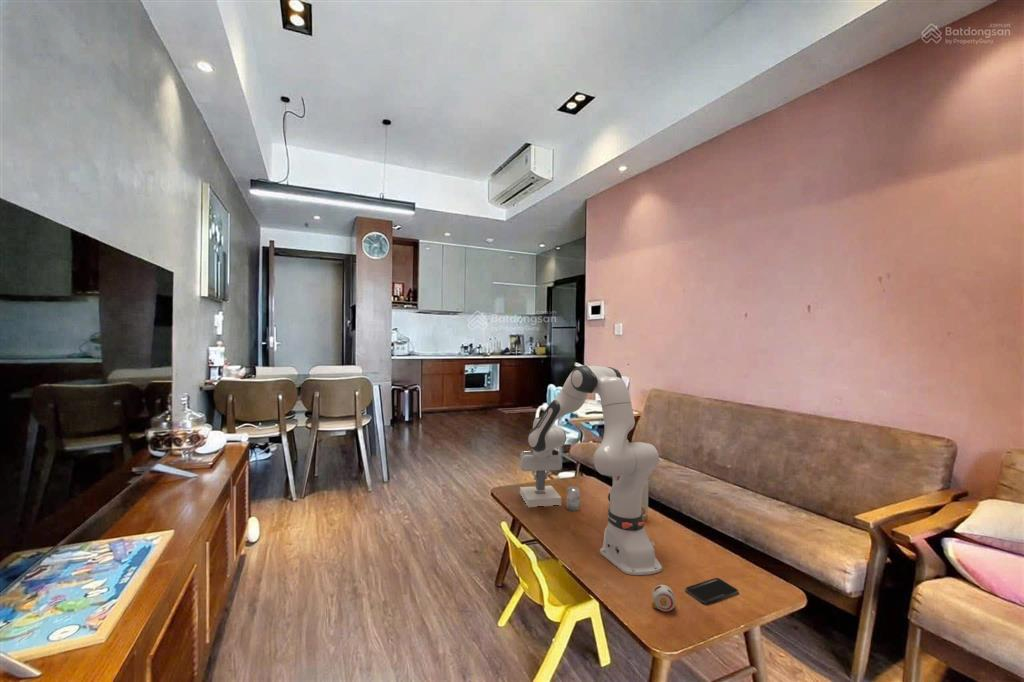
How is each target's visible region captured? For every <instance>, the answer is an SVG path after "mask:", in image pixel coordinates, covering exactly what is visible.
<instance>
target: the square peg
mask: <svg viewBox="0 0 1024 682" xmlns="http://www.w3.org/2000/svg"><path fill="white" fill-rule="evenodd" d="M545 474H546V470H544V471H535V475H537V476H538V478H537V480H535V486H536V489H537V490H545V486H546V480H545Z"/></svg>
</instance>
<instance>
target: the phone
mask: <svg viewBox="0 0 1024 682" xmlns="http://www.w3.org/2000/svg"><path fill="white" fill-rule="evenodd" d="M684 589H685V593H686V594H688V595H689V596H690V597H692V598H693V599H695V600H696V601H697V602H699V603H701V604H702V605H704V606H709V605H712V604H715V603H717V602H720V601H723V600H726V599H730V598H732V597H734V596H737V595H739V590H738V589H737V588H736V587H734V586H732V584H729V583H728V582H726V581H724V580H723V579H721V578H720V577H719V578H718V577H714V578H712V579H708V580H705V581H702V582H699V583H696V584H692V585H689V586H687V587H685V588H684Z"/></svg>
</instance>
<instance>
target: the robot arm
mask: <svg viewBox="0 0 1024 682" xmlns="http://www.w3.org/2000/svg"><path fill="white" fill-rule="evenodd" d="M592 393H593V394H597V395H598V396H599V399H600V404H601V410H602V411H601V412H602V417H603V425H604V426H603V427H604V429H603V430H604V431H603V438H602V440H601V443H600V444H599V446H598V447H597V448H596V450H594V454H593V458H592V459H593V466H594V468H595V470H596V471H597V472H598V473H599V474H600V475H602V476H608V477H613V476H620V478H619V480H618V481H617V482H616V483H615V484H614V485H613V484H612V486H611V488H610V490H609V493H610V502H609V508H608V512H607V521H608V522H607V525H606V527H605V528H604V531H603V532H604V533H603V543H602V547H600V549H599V554H600V555H602V556H603V557H604V558H606V559H607V560H608V561H609V562H610V563H612V564H613V565H614V566H615V567H616V566H617V567H616V568H618V569H619V570H620V571H621V572H623V573H624V574H626V575H632V576H648V575H649V576H650V575H653V574H657V573H658V574H659V573H660V572H661V571H663V566H662V564H661V563H660V562H659V560H658V559H657V557H656V555H655V548H656V545H655V542H654V541H653V540H651V539H650V538H649V533H648V532H646V529H645V522H643V521H644V520H643V516H642V513H641V505H642V493H643V489H644V486H645V483H646V481H647V479H648V480H649V477H650V475H651V473H652V472H653V471H654V470H656V468H658V465H659V463H660V455H659V452H658V449H657V448H656V447H655V446H654V445H653V444H651V443H649V442H642V441H637V442H636V441H635V442H628V434H629V433H630V431H632V430H633V429H634V427H635V424H636V420H635V415H634V410H633V405H632V401H631V396H630V393H629V389H628V387H627V385H626V383H625V380H624V379H623V378H622V374H621V372H620V371H619V370H618V369H616V368H614V367H610V366H609V367H608V366H607V367H606V366H599V365H579V366H576V367H575V368H573V370H572V371H571V372H570V373H569V375H568V377H567V378H566V380H565V382H564V384H563V386H562V388H561V389H560V391H559V393H558V395H557V396H555V398H554V399H553V400H552V401H551V402H550V403H549V404H548V406H547V407H546V408H545V410H544V412H543V414H542V415H541V416H538V417H535V418H534V420H533V423H532V428H531V430H530V432H529V433H528V436H527V443H528V445H529V447H530V448H531V450H523V451H521V452H520V453H519V460H520V461H519V469H520V471H522V472H531V473H532V475H533V480H534V481H536V480H537V478H538V476H537V475H536V471H544V470H545V481H546V480H548V476H549V474H550V472H551V471H560V470H562V468H563V460H562V456H561V451H560V450H559V448H562V447H563V446H564V445H565V444H566V440H567V434H566V432H565V430H564V429H563V428H562V427H561V426H558V424H557V425H556V424H555V423H556V421H557V420H558V419H560V418H562V417H563V416H566V415H568V414H571V413H574V412H577V411H578V410H580V408H582V406H583V405H584V403H585V402H586V401H587V398H588V395H589V394H592Z"/></svg>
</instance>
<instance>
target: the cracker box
mask: <svg viewBox="0 0 1024 682" xmlns="http://www.w3.org/2000/svg"><path fill="white" fill-rule="evenodd" d="M619 478H620V476H612V486H613V485H614V484H615V483H616V482H617V481H618V480H619ZM641 513H642V516H643V520H644V521H643V522H649V478H648V479H647V481H646V483H645V486H644V489H643V493H642V505H641Z"/></svg>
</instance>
